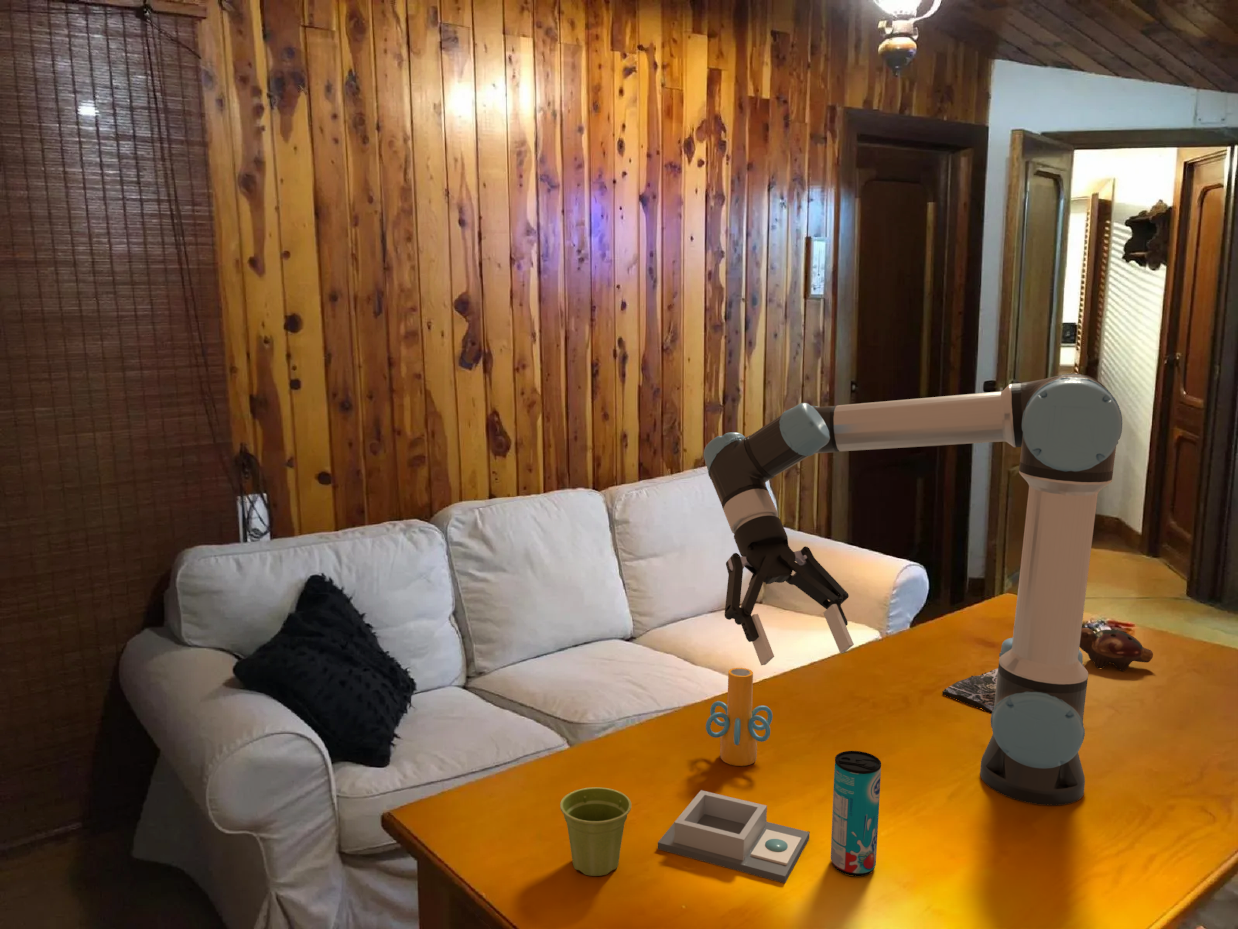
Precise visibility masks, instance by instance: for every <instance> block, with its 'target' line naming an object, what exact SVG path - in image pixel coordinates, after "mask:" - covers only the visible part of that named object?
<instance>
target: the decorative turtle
mask: <svg viewBox="0 0 1238 929" xmlns="http://www.w3.org/2000/svg"><path fill="white" fill-rule="evenodd" d="M1079 649H1081V650H1082V651H1083V652H1084V653H1086V654H1087V655H1088V658H1089V659H1090V660H1091V661H1092V662H1093V663H1094V666H1095V667H1096V668H1097V669H1098V668H1102V669H1103V668H1104V669H1105V667H1106V666H1108V665H1109V664H1112V665H1113V666H1114V667H1115V668H1116V669H1117V670H1119V672H1124V671H1126V670H1127V669H1128V668H1129V667H1130V665H1131V663H1133V662H1137V663H1150V662H1151V660H1153V658H1154V652H1153V651H1152V650H1151V649H1149V648H1146V647H1144V646H1143V644H1142V643H1141V641H1139V640H1138V638H1136V637H1134V636H1133V635H1131V634H1130V633H1127V632H1125V631H1121V630H1118V629H1102V630H1099V631H1096V632H1095V631H1094V630H1092V629H1091V628H1089V627H1082V629H1081V638H1080V646H1079Z"/></svg>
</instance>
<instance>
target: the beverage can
mask: <svg viewBox="0 0 1238 929" xmlns="http://www.w3.org/2000/svg"><path fill="white" fill-rule="evenodd" d="M881 771H882V762H881V760H880V759H879V758H878V757H877V756H876V755H873V754H871V753H869V752H865V751H861V750H846V751H841V752H840V753H838V754H836V755H835V757H834V773H833V794H832V811H831V812H832V815H831V816H832V817H831V818H832V819H831V837H830V838H831V839H830V842H831V843H830V857H829V858H830V861H831V864H832V866H833V868H834V869H835V870H837V872H840V873H842V874H843V875H846V876H851V877H865V876H868V875H870V874H872V873H873V871H874V869H875V868H876V865H877V849H878V848H877V847H878V832H879V818H880V817H879V816H880V815H879V813H880V812H879V811H880V799H881V798H880V795H881V794H880V793H881V776H882V774H881V773H882V772H881Z"/></svg>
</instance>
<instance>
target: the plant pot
mask: <svg viewBox="0 0 1238 929" xmlns="http://www.w3.org/2000/svg"><path fill="white" fill-rule="evenodd" d="M559 806H560V808H559V809H560V811H561V812H562V814H563V816H564V817H563V818H564V821H565V822H566V826H567V827H566V828H567V833H568V840H569V845H570V846H569V847H570V854H571V860H572V866H573V868H574V870H576V871H580V872H581V873H582V874H584V875H586V876H589V877H590V876H591V877H592V876H593V877H598V876H601V877H602V876H605V875H608V874H609V873H610V872H612V871H613V870H616V869H617V868H618V866H619V863H620V862H619V861H620V855H621V848H622V842H623V837H624V836H623V835H624V829H625V823H626V821H627V819H628V814H629V813H630V812H631V809H632V801H631V799H630V798H629V797H628V796H627V795H626V794H625V793H623V792H622V791H620V790H616V789H612V788H608V787H595V786H594V787H585V788H584V787H583V788H581V789H575V790H574V791H573V790H572V792H569V793H568V794H566V795H564V796H563V798H562V799H561V801H560V805H559Z"/></svg>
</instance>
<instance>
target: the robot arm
mask: <svg viewBox="0 0 1238 929" xmlns="http://www.w3.org/2000/svg"><path fill="white" fill-rule="evenodd" d="M1122 432H1123V415H1122V411H1121V408H1120V406H1119V403H1118V401H1117V399H1116V398H1115V397H1114V395H1113V394H1112V393H1111V392H1110V391H1109V389H1107V387H1106V386H1105V385H1104V384H1102V382H1100V381H1098V380H1097V379H1095V378H1094V377H1091V376H1089V375H1084V374H1080V373H1064V374H1063V373H1062V374H1060V375H1056V376H1051V377H1047V378H1043V379H1038V380H1032V381H1025V382H1019V383H1018V382H1017V383H1009V384H1008V385H1007V386H1006V387H1005V388H1004V389H1003V390H1002V391H1001V390H1000V391H990V392H979V393H967V394H955V395H954V394H953V395H945V396H944V395H943V396H942V395H941V396H935V397H934V396H932V397H922V398H921V397H920V398H919V397H918V398H910V399H909V398H907V399H897V400H887V401H886V400H885V401H874V402H861V403H849V404H840V405H839V404H837V405H827V406H817V405H810V404H809V403H808V402H801V403H798V404H797V405H794V406H793V407H792V408H789V409H787V410H784V412H782V413H781V414H780V415H779V416H778V417H776V418H774V419H773V420H772V421H770V422H768V423H767V424H764V426H762V427H761V428H758V430H756V431H755V432H753V433H752V434H750V435H748V436H745V435H743V434H742V433H740V432H734V431H732V432H726V433H724V434H723V435H717V436H716V437H714V438H713V439H711V440H710V441H709V442H708V443H707V444H706V445H705V447H704V450H703V459H704V462H705V466H706V469H707V473H708V474H707V475H708V478H710V479H709V480H711V483H712V485H713V488H714V489H715V493H716V495H717V498H718V500H719V502H720V505H721V507H722V511H723V512H724V515H725V518H726V521H727V522H728V523H727V524H728V525H729V528H730V531H731V533H733V539H734V542H735V544H736V547H737V549H738V552H739V553H737V552H734V553H732V555H731V556H730V557H729V558H728V559H727V561H726V562H725V565H726V570H727V573H728V578H727V585H726V586H727V587H726V598H725V606H724V618H725V619H726V620H734V622H735V624H736V625H738V626H740V625H741V627H742V628H741V629H742V631H743V634H744V635H745V638H746V640H747V642H749V643H751V642H752V645H753V648H754V650H755V653H756V655H757V658H758V661H759V663H760V666H766V665H767V664H768V663H769V662H770V661H771V660H773V658H774V657H775V654H774V651H773V650H772V646H771V644H770V641H769V638H768V636H767V634H766V631H765V628H764V626H763V623H762V621H761V619H760V615H759V613H756V614H755V613H754V614H752V613H753V610H754V608H755V606H756V603H757V600H758V597H759V595H760V592H761V589H762V586H763V584H764V583H765V585H771V584H774V583H776V584H777V583H779V584H780V583H781V584H782V583H784V582H786V583H788V585H791V586H793V585H794V586H795V587H796V588H797V589H799V590H800V591H802V592H803V593H804V594H805V595H807V596H808V597H809V598H811V599H812V600H813V601H815V602H816V603H818V604H819V606H822V608H824V609H825V611H824V612H822V613H823V616H824V618H825V620H826V623H827V625H828V628H829V630H830V633H831V635H832V638H833V639H834V642H835V644H836V646H837V649H838V651H839V654H843V653H844V654H845V653H846V652H848V650H849V649H850V648H852V647H853V646H854V644H855V643H854V641H853V639H852V637H851V634H850V632H849V629H848V627H847V626H848V624H849V621H848V619H847V617H846V615H845V612H844V610H843V607H842V604H843V603H844V602H845V601H846V600H848V598H849V597H850V595H849V593H848V592H847V591H846V590H845V589H844V587H843V586H841V584H840V583H839V582H838V581H837V580H836V579H835V578H834V577H833V576H832V575H831V574H830V573H829V572H828V571H827V570H826V569H825V568H824V566H823V565H822V564H821V563H820V562H819V561H818V560H817V559H816V558H815V556H814V555H813V553H812V551H811V548H810V547H808V546H803V547H802V548H801V549H800V550H796V551H793V550H792V549H791V547H790V546H789V538H788V534H787V532H786V529H785V528H784V524H783V522H782V521H781V519H780V518H779V512H778V511H777V507H776V506H775V504H774V501H773V499H772V497H771V495H770V492H769V489H768V487H767V484H766V483H767V482H768V481H769V480H771V479H773V478H774V479H775V478H776V476H778V475H780V474H781V473H783V472H784V471H786V470H789V469H790V468H792V467H793V466H795V465H796V464H798V463H800V462H801V461H804V460H805V459H807V458H809V457H811V456H814V455H815V454H827V453H839V452H849V451H851V452H852V451H866V450H867V451H868V450H869V451H871V450H884V449H898V448H899V449H900V448H903V449H904V448H917V447H937V446H949V445H950V446H951V445H966V444H983V443H984V444H985V443H999V442H1005V443H1007V444H1009V445H1010V446H1012V448H1021V449H1020V457H1019V469H1018V473H1019V475H1020V476H1021V477H1022V478H1023V479H1024V480H1025V482H1027V485H1028V494H1027V503H1026V504H1027V505H1026V512H1025V521H1024V531H1023V532H1024V533H1023V541H1022V549H1021V550H1022V551H1021V560H1020V570H1019V578H1018V579H1019V580H1018V588H1017V598H1016V607H1015V615H1014V623H1013V624H1014V625H1013V633H1012V634H1013V635H1012V637H1010V638H1009V637H1008V638H1006V639H1004V641H1003V642H1002V644H1001V647H1000V648H1001V649H1000V652H999V655H998V656H999V657H998V658H999V659H998V674H997V684H996V693H995V703H994V710H993V712H992V713H990V714H991V715H990V727H991V729H992V735H991V737H990V739H989V742H988V744H987V746H986V748H985V750H984V752H983V754H982V757H981V760H980V771H979V775H980V778H981V780H982V781H983V782H984V783H985V784H986V785H987V786H988V787H989V788H990V789H992V790H994V791H995V792H997V793H999V794H1001V795H1003V796H1005V797H1008V798H1011V799H1014V800H1016V801H1020V802H1022V803H1023V802H1024V803H1028V804H1034V805H1039V806H1040V805H1041V806H1062V805H1063V806H1065V805H1069V804H1074V803H1076V802H1077V801H1079V800H1081V799H1082V798H1083V797H1084V793H1085V785H1086V780H1085V778H1086V777H1085V773H1084V769H1083V765H1082V761H1081V758H1080V755H1079V754H1080V753H1079V751H1080V749H1081V747H1082V745H1083V743H1084V740H1085V737H1086V736H1085V734H1086V731H1085V730H1086V729H1085V727H1084V716H1085V715H1084V714H1085V705H1086V697H1087V688H1088V687H1087V686H1088V679H1089V672H1088V670H1087V669H1086V667H1085V665H1084V663H1083V662H1084V661H1083V659H1084V658H1083V657H1084V656H1083V653H1082V651H1081V650H1080V647H1079V646H1080V638H1081V629H1082V628H1083V619H1084V611H1085V604H1086V603H1085V602H1086V595H1087V586H1088V579H1089V570H1090V561H1091V552H1092V544H1093V537H1094V536H1093V535H1094V527H1095V520H1096V511H1097V502H1098V494H1099V493H1100V491H1101V490H1103V489H1104V488H1106V487H1107V486H1108V485H1109V484H1111V483H1112V481H1113V475H1114V469H1115V468H1114V467H1115V458H1116V450H1117V446H1118V444H1119V440H1120V438H1121V437H1122ZM744 568H745V569H746V570H748V572H750V573H752V575H751V578H750V580H749V582H748V587H747V590H746V592H745V595H744V598H743V600H742V603H741V596H742V595H741V594H742V583H743V574H744ZM793 572H794V574H793Z"/></svg>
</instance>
